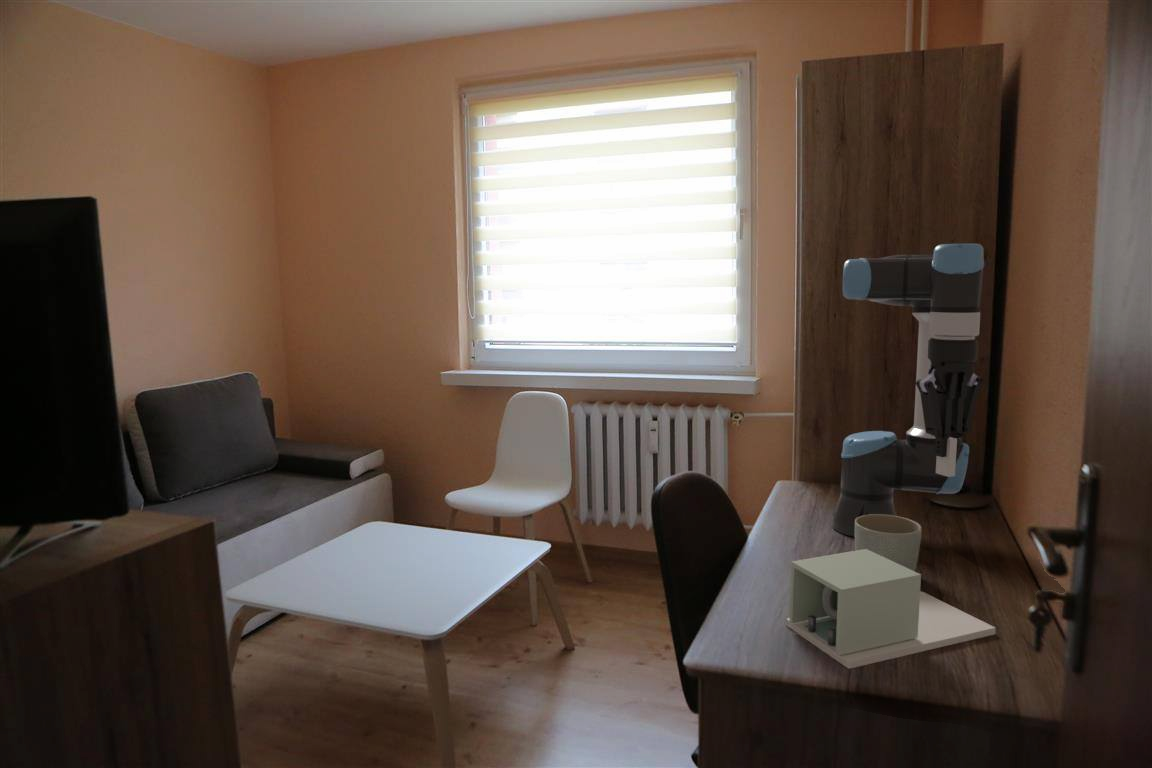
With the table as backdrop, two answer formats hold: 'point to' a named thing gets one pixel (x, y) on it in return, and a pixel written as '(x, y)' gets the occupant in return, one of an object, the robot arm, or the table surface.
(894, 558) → the planter
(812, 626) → the pins
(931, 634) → the board
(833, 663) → the table surface
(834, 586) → the hood
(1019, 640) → the table surface
